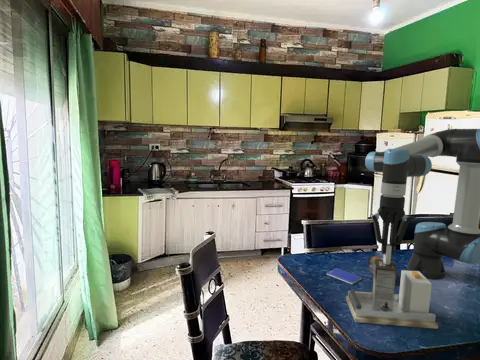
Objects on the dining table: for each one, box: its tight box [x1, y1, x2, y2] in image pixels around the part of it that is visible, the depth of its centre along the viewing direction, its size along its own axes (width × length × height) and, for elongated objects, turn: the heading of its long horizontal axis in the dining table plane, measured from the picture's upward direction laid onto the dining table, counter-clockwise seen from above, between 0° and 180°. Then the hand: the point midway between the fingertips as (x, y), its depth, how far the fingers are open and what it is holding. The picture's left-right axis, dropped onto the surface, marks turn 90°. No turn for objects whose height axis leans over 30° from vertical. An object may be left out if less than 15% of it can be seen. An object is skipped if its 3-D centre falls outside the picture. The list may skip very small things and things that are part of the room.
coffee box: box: [372, 259, 397, 310], centre depth 117 cm, size 9×6×16 cm
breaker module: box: [398, 269, 433, 313], centre depth 116 cm, size 6×10×13 cm, turn 174°
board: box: [345, 295, 439, 330], centre depth 118 cm, size 26×16×1 cm, turn 84°
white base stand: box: [347, 289, 437, 323], centre depth 118 cm, size 25×13×4 cm, turn 84°
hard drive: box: [326, 267, 363, 285], centre depth 147 cm, size 2×8×12 cm
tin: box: [367, 255, 398, 280], centre depth 146 cm, size 15×3×8 cm, turn 18°
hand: (386, 262), depth 116 cm, fingers closed
